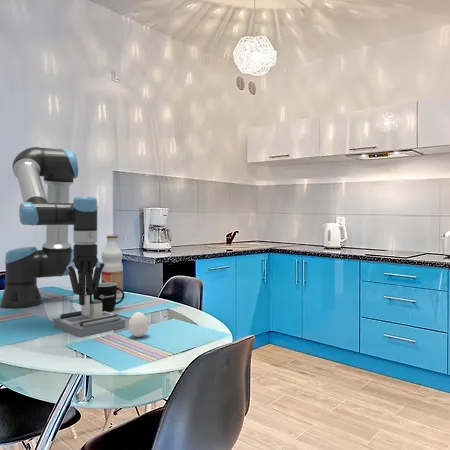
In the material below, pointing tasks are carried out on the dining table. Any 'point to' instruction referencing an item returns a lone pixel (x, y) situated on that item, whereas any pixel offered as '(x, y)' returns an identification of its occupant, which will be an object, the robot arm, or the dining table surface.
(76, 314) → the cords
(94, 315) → the light grey boxy piece
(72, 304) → the dining table surface
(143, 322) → the egg
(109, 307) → the mug
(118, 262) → the fruit juice
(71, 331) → the grey compartment tray
